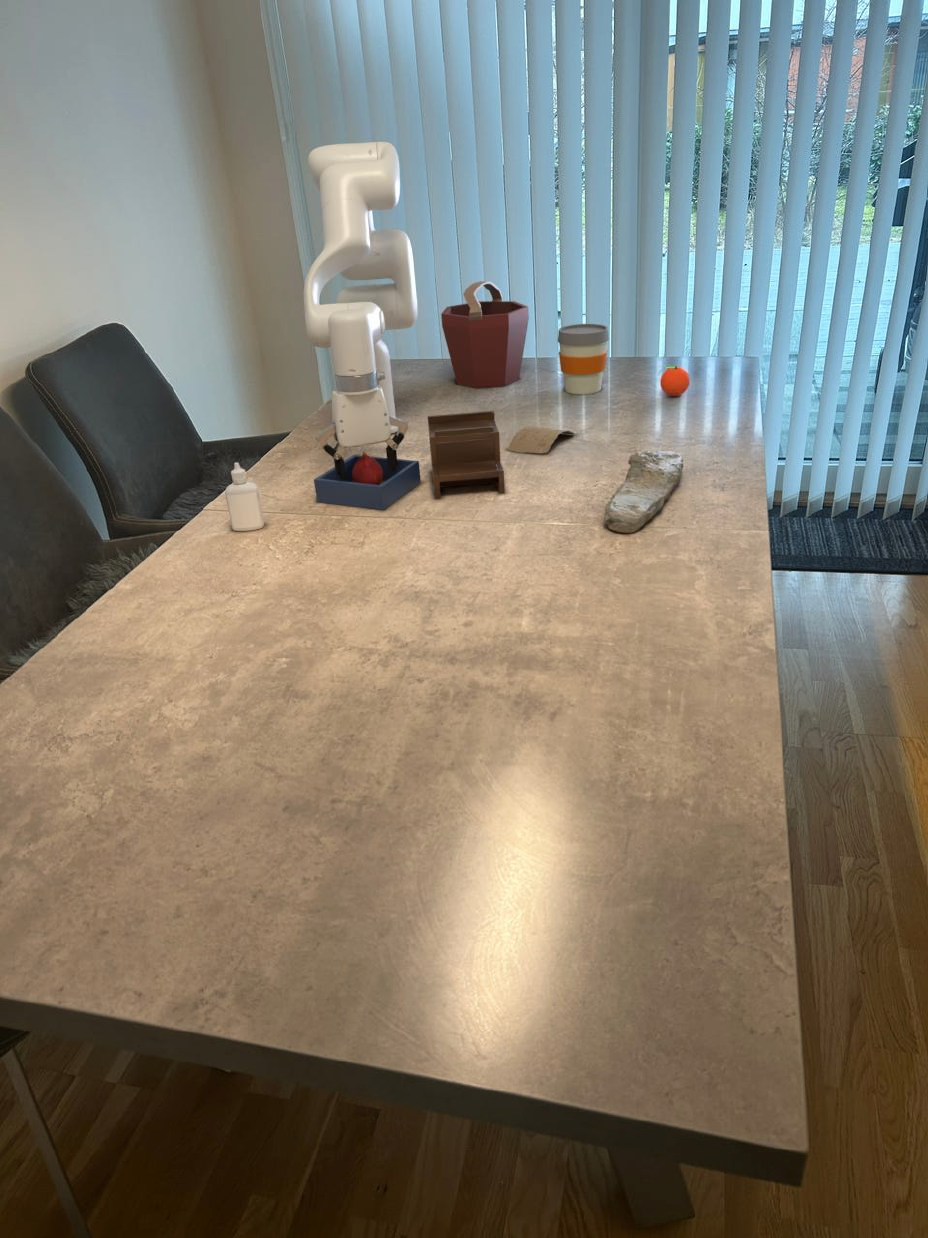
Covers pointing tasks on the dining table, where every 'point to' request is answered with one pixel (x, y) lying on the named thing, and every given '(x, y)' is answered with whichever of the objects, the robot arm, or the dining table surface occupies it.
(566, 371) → the reusable coffee cup
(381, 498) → the crate
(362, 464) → the onion
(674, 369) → the clementine
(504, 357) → the bucket
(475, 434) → the step shelf
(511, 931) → the dining table surface
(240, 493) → the eye dropper bottle
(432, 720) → the dining table surface
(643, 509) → the elongated rock
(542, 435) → the clay tablet
